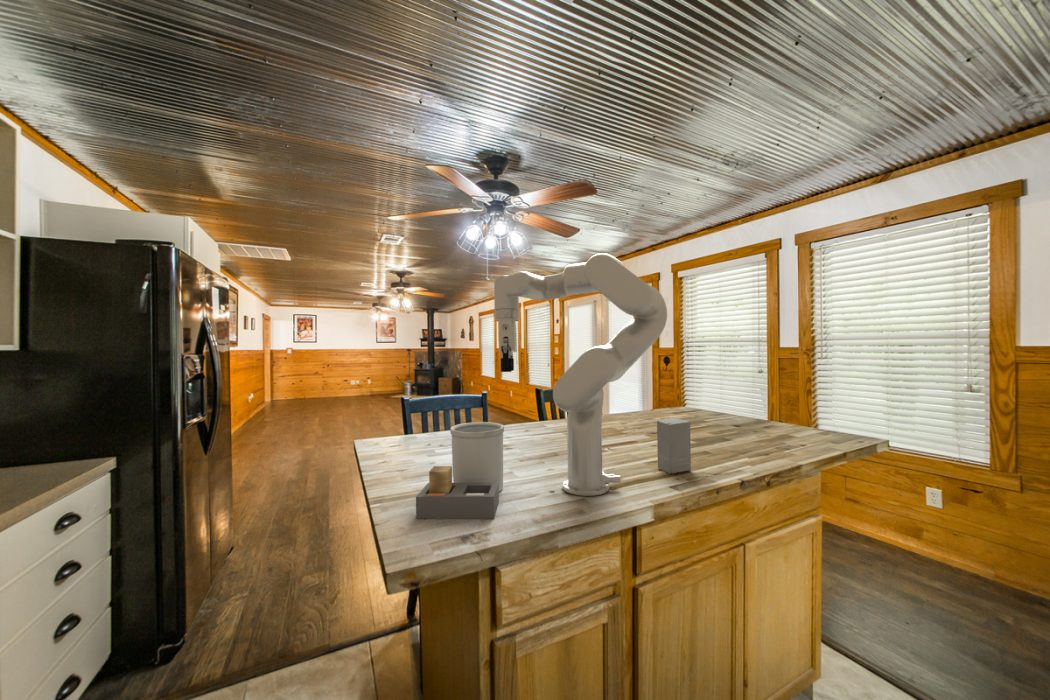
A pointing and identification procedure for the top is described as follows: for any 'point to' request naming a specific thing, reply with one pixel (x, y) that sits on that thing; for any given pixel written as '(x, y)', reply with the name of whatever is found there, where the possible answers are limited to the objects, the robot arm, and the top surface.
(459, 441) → the utensil holder
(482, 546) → the top surface
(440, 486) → the plug
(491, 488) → the socket block
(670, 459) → the skincare box
